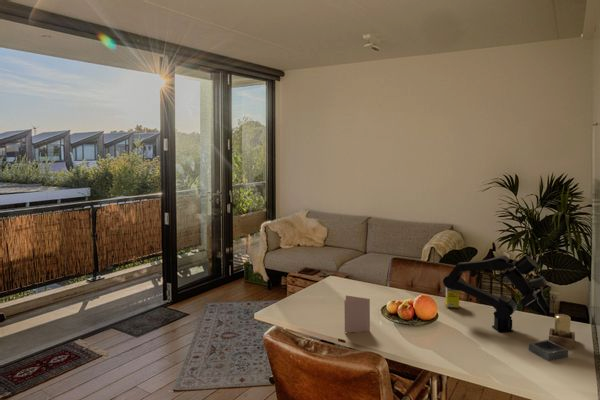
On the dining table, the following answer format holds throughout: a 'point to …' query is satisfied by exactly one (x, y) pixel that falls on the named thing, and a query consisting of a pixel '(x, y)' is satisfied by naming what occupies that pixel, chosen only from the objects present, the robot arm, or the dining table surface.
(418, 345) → the dining table surface
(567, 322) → the tan cylinder
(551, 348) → the tray
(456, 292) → the supplement box
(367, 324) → the greeting card
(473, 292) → the robot arm
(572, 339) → the walnut socket
